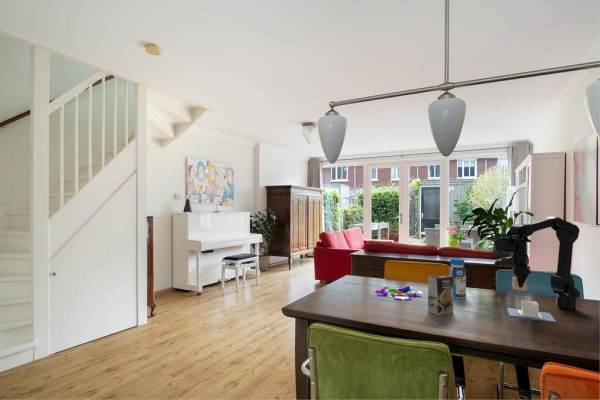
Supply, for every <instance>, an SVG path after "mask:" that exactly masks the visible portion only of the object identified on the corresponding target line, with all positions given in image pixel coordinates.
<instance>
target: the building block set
mask: <svg viewBox="0 0 600 400" xmlns="http://www.w3.org/2000/svg"><path fill="white" fill-rule="evenodd" d="M380 288H381V289H375V293H377V295H376V296H377V297H387V298H393V297H394V298H393V299H394V300H395V301H405V302H406V301H412V298H422V296H423V295H424V293H423V292H422V291H421V290H414V288H413V287H411V286H410V285H408V284H405V285H404V287H402V288H401V287H398V288H397V287H396V288H395V287H388V286H384V287H380Z"/></svg>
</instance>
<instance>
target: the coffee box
mask: <svg viewBox="0 0 600 400" xmlns="http://www.w3.org/2000/svg"><path fill="white" fill-rule="evenodd" d="M427 277H428V280H427V282H428V283H427V285H428V286H427V312H429V313H432V314H434V315H436V316H443V315H449V314H453V313H454V298H453V277H451V276H449V275H447V274H446V275H445V274H437V275H435V274H434V275H428V276H427Z"/></svg>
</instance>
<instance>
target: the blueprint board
mask: <svg viewBox="0 0 600 400" xmlns="http://www.w3.org/2000/svg"><path fill="white" fill-rule="evenodd" d="M506 310H507V313H508V315H509V317H511V318H519V319H527V320H534V321H540V322H541V321H542V322H549V323H557V321H556V320H555V318H554V317H553V315H552V314H551V313H550V312H545V311H544V312H542V311H539V317H537V316H529V315H523V314H522V312H521V309H518V308H512V307H511V308H510V307H506Z"/></svg>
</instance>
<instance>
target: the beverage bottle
mask: <svg viewBox="0 0 600 400" xmlns="http://www.w3.org/2000/svg"><path fill="white" fill-rule="evenodd" d="M449 265H451V266H450V267H449V269H448V273H449V274H448V276H451V277H453V299H458V300H459V299H461V300H463V299H466V298H467V275H466V274H467V271H466V269H465V267H464V266H465V259H464V258H461V257H451V258H450V260H449Z"/></svg>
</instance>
